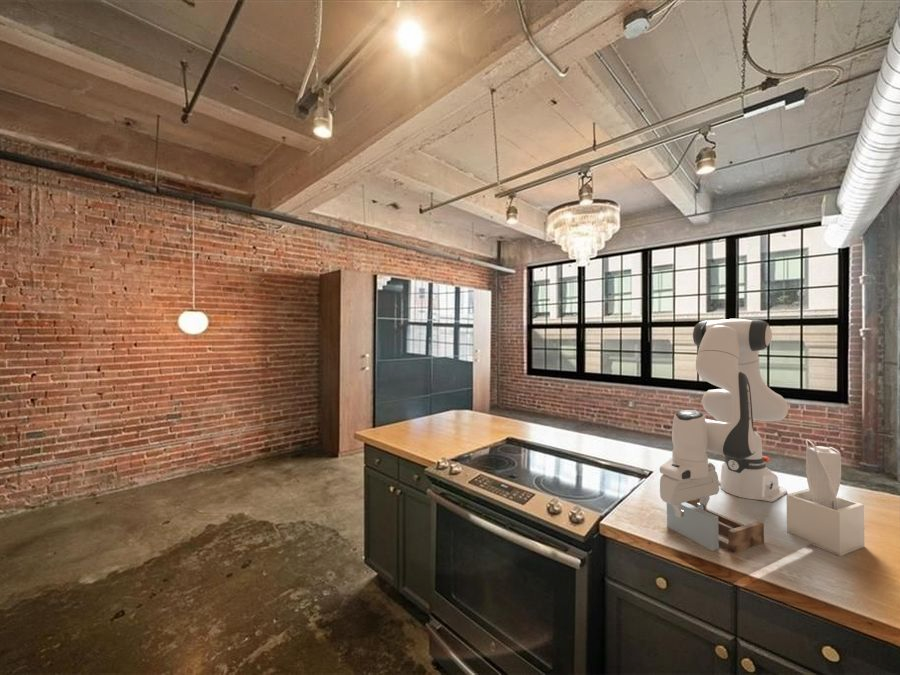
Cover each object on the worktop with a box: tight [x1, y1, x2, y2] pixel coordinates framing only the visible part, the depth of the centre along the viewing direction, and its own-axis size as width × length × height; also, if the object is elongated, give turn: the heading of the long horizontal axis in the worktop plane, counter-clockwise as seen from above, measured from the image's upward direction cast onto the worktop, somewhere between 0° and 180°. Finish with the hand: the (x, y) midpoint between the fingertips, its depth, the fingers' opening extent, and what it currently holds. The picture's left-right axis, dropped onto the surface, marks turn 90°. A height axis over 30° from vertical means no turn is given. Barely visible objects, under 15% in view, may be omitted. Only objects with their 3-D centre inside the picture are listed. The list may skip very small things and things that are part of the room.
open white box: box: [785, 488, 865, 557], centre depth 108 cm, size 12×12×12 cm
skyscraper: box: [805, 438, 842, 510], centre depth 108 cm, size 8×8×28 cm
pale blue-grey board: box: [666, 502, 720, 552], centre depth 108 cm, size 2×14×10 cm, turn 20°
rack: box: [686, 499, 765, 554], centre depth 112 cm, size 13×19×7 cm
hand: (690, 513), depth 108 cm, fingers open, 8 cm apart
